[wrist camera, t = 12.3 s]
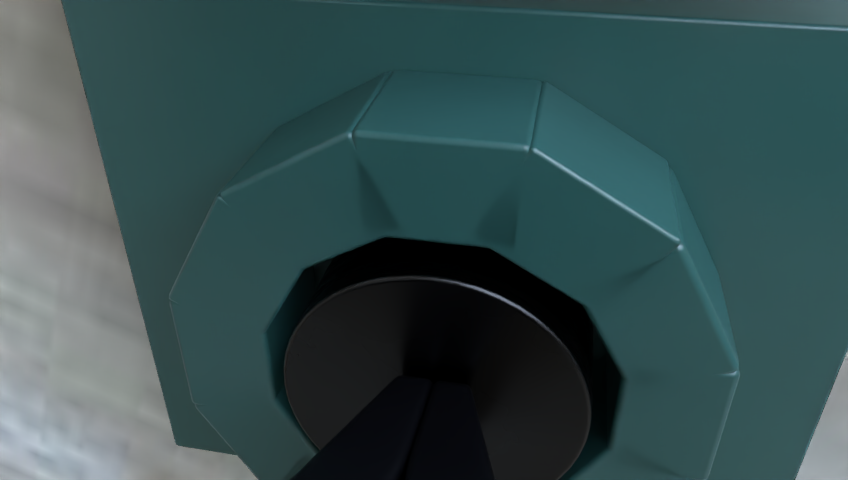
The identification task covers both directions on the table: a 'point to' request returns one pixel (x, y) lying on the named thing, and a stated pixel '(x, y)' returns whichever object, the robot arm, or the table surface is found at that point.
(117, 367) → the table surface
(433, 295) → the button
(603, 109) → the button box
